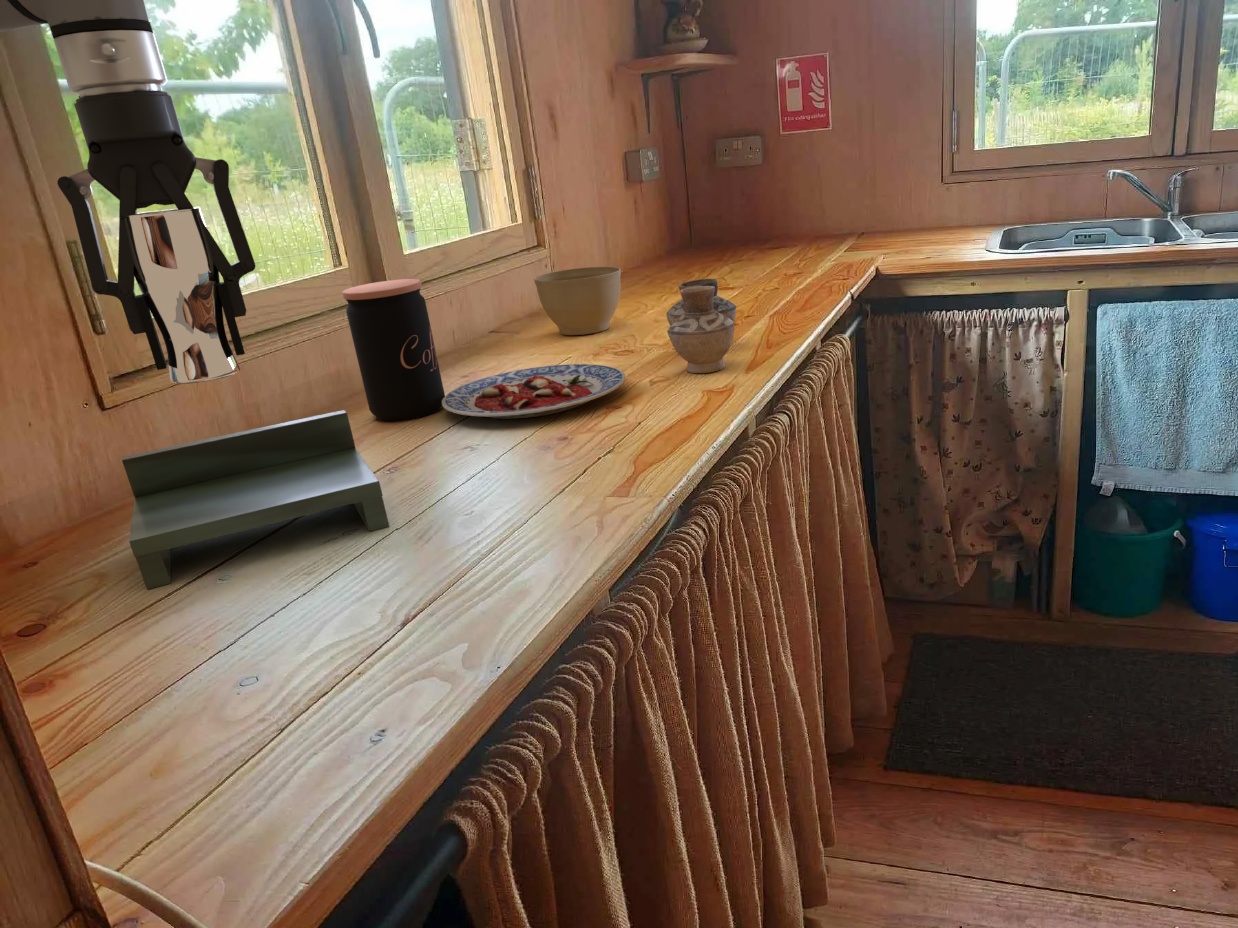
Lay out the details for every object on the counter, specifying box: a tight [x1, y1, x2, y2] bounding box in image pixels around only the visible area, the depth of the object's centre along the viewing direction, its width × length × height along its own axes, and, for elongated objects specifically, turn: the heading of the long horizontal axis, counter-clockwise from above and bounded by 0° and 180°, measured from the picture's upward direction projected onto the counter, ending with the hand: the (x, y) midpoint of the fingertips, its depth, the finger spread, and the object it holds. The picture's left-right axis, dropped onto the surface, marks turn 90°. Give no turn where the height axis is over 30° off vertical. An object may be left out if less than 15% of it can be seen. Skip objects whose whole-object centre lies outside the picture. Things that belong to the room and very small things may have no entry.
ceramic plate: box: [442, 363, 626, 420], centre depth 137 cm, size 26×26×3 cm
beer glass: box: [125, 206, 241, 385], centre depth 89 cm, size 7×7×15 cm
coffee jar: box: [341, 278, 446, 422], centre depth 137 cm, size 11×11×18 cm
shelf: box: [121, 409, 390, 590], centre depth 97 cm, size 16×22×9 cm
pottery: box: [666, 278, 737, 374], centre depth 149 cm, size 11×25×12 cm, turn 0°
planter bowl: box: [533, 265, 622, 336], centre depth 182 cm, size 16×16×11 cm
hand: (201, 359), depth 91 cm, fingers closed on beer glass, 6 cm apart
